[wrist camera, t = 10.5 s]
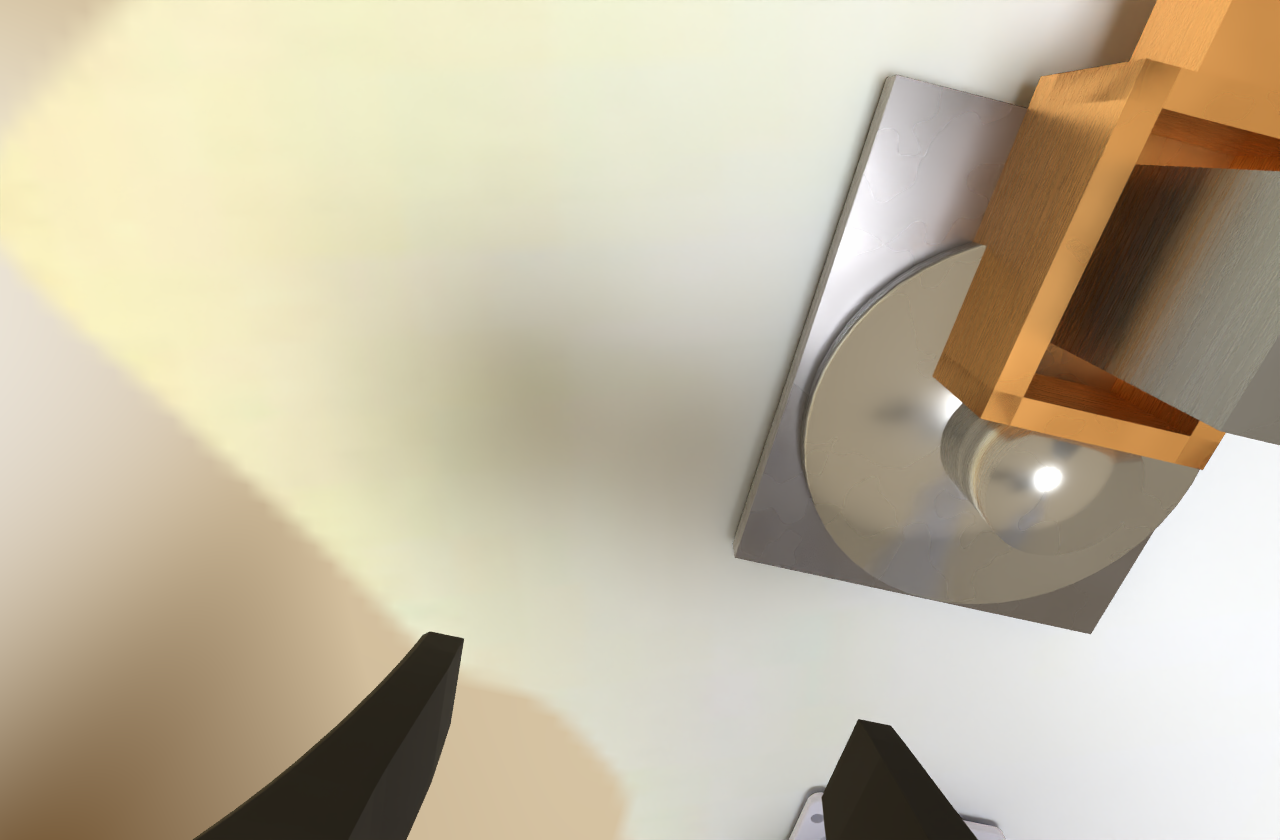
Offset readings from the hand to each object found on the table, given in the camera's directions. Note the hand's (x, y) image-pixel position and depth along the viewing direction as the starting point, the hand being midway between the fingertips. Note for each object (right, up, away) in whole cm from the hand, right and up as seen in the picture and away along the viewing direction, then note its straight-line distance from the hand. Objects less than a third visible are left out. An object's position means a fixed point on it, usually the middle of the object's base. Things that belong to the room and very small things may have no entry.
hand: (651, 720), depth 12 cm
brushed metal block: (+11, +9, +5) cm, 15 cm away
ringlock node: (+11, +10, +6) cm, 16 cm away
